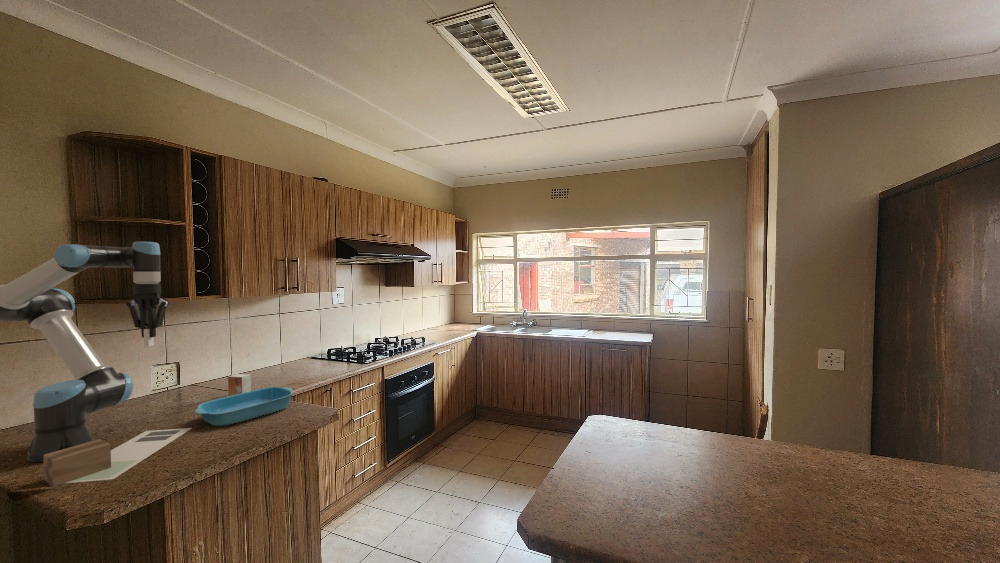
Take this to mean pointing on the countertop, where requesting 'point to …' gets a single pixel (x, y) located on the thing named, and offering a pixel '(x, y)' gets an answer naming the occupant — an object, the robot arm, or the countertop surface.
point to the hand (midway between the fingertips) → (149, 346)
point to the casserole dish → (244, 405)
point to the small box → (239, 384)
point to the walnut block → (76, 462)
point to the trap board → (133, 453)
